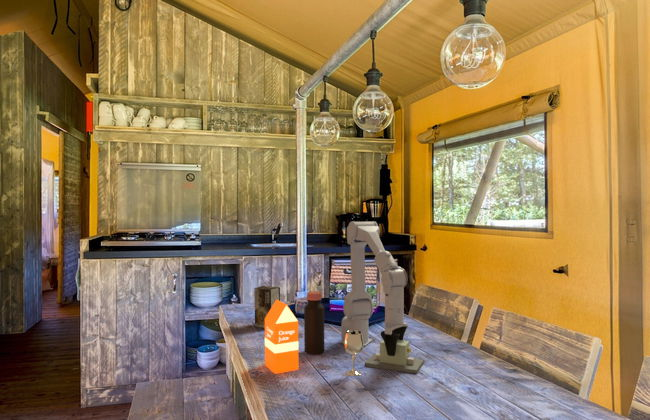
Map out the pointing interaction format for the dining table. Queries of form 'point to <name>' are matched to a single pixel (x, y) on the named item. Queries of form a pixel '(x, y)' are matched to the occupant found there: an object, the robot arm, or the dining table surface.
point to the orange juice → (281, 339)
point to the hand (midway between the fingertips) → (394, 351)
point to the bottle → (314, 324)
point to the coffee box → (264, 302)
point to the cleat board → (411, 366)
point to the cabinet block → (400, 354)
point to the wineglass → (353, 347)
